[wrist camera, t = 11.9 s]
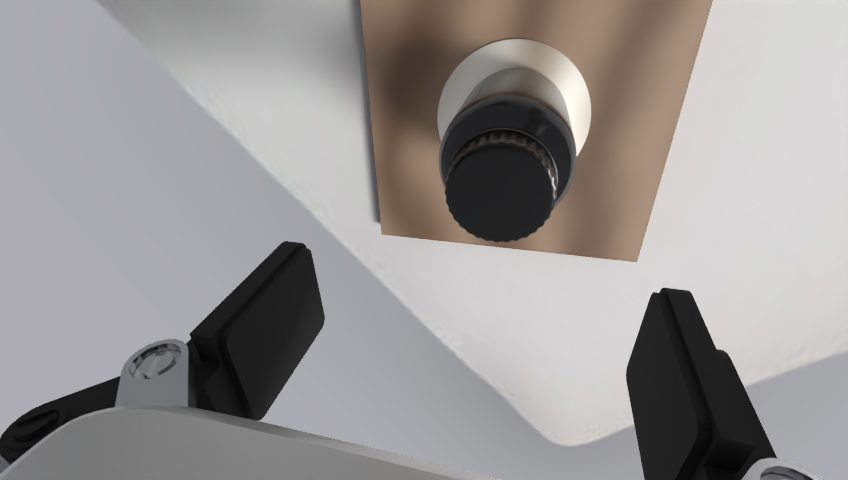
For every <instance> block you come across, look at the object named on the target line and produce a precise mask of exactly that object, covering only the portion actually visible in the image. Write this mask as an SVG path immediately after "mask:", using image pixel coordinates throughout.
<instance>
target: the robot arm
mask: <svg viewBox="0 0 848 480" xmlns="http://www.w3.org/2000/svg"><path fill="white" fill-rule="evenodd" d="M324 319H325V317H324V312H323V306H322V302H321V297H320V292H319V288H318V283H317V278H316V273H315V268H314V263H313V259H312V254H311V251H310V250H309V249H307V248H306V246H305V245H304V244H303V243H296V242H288V241H285V242H283V243H281V244H280V245H279V246H278V247H277V249H275V250H274V251H273V252H272V254H270V255H269V256H268V257H267V258H266V259H265V260H264V261H263V262H262V263H261V264H260V265H259V266H258V267H257V268H256V269H255V270H254V271H253V272H252V273H251V274H250V275H249V276H248V277H247V278H246V279H245V280H244V281H243V282H242V283H241V284H240V285H239V286H238V287H237V288H236V289H235V290H234V291H233V292H232V293H231V294H230V295H229V296H228V297H227V298H226V299H224V301H222V302H221V304H219V305H218V306H217V307H216V308H215V309H214V310H213V311H212V312H211V313H210V314H209V315H208V316H207V317H206V318H205V319H204V320H203V321H202V322H201V323H200V324H199V325H198V326H197V327H196V328H195V329H194V330H193V331H192V332H191V333H190V336H191V338H192V339H191V340H190V341H189V342H188V343H187V344H185V343H184V342H183V341H180V340H177V339H166V340H162V341H157V342H154V343H152V344H149V345H147V346H146V347H144V348H142V349H140V350H138V351H137V352H136V353H135V354H133V355H132V356H131V357H130V358H129V359H128V360H127V362H126V363H125V364H124V366H123V369H122V371H121V376H119V377H117V378H114V379H111V380H108V381H106V382H103V383H100V384H98V385H95V386H92V387H89V388H86V389H84V390H81V391H79V392H75V393H73V394H70V395H67V396H65V397H62V398H59V399H57V400H54V401H51V402H48V403H45V404H43V405H41V406H39V407H36V408H34V409H32V410H30V411H29V412H28V413H26V414H24V415H22V416H21V417H20V418H18V419H17V420H16V421H15V422H14V423H12V424H11V425H10V426H9V428H7V430H6V431H5V432H4V433H3V434H2V436H1V438H0V480H503V479H499V478H494V477H491V476H487V475H482V474H478V473H474V472H470V471H466V470H462V469H458V468H454V467H449V466H445V465H441V464H437V463H433V462H429V461H424V460H420V459H416V458H412V457H408V456H404V455H399V454H396V453H391V452H387V451H383V450H379V449H374V448H370V447H366V446H362V445H358V444H353V443H349V442H345V441H341V440H337V439H332V438H328V437H324V436H319V435H315V434H311V433H306V432H302V431H298V430H293V429H289V428H285V427H281V426H276V425H272V424H268V423H264V422H259V421H258V420H261V419H262V418H263V417H264V416H265V414H266V413H267V411H268V410H269V408H270V407H271V405H272V404H273V402H274V400H275V399H276V398H277V396H278V394H279V393H280V391H281V390H282V388H283V387H284V385H285V384H286V382H287V381H288V379H289V378H290V376H291V375H292V373H293V372H294V370H295V368H296V367H297V365H298V364H299V362H300V361H301V359H302V358H303V356H304V355H305V353H306V352H307V350H308V349H309V347H310V345H311V344H312V343H313V341H314V340H315V338H316V336H317V335H318V333H319V332H320V330H321V329H322V327H323V324H324ZM626 380H627V386H628V391H629V397H630V402H631V407H632V413H633V418H634V424H635V429H636V435H637V439H638V445H639V450H640V456H641V462H642V467H643V472H644V478H645V480H824V479H822V478H821V477H820V476H818V475H817V474H816V473H814V472H812V471H810V470H808V469H807V468H805V467H803V466H801V465H799V464H796V463H793V462H790V461H788V460H784V459H777V457H776V455H775V453H774V451H773V448H772V446H771V444H770V442H769V440H768V438H767V436H766V433H765V431H764V429H763V427H762V425H761V423H760V421H759V418H758V417H757V414H756V412H755V410H754V408H753V406H752V403H751V401H750V399H749V397H748V395H747V393H746V391H745V388H744V386H743V384H742V382H741V380H740V378H739V376H738V373H737V371H736V369H735V367H734V365H733V363H732V361H731V359H730V357H729V355H728V354H727V353H726V352H725V351H723V350H717V349H716V348H715V345H714V343H713V341H712V339H711V336H710V334H709V332H708V329H707V327H706V325H705V323H704V320H703V318H702V316H701V314H700V311H699V309H698V307H697V305H696V302H695V300H694V298H693V295H692V294H691V292H690V291H686V290H678V289H670V288H662V289H661V291H660V293H655V292H654V293H652V295H651V297H650V300H649V303H648V306H647V309H646V312H645V315H644V318H643V321H642V324H641V327H640V330H639V333H638V336H637V339H636V342H635V345H634V348H633V351H632V354H631V357H630V360H629V363H628V366H627V371H626Z"/></svg>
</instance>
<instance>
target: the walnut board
mask: <svg viewBox="0 0 848 480" xmlns="http://www.w3.org/2000/svg"><path fill="white" fill-rule="evenodd" d="M712 1H713V0H360V7H361V18H362V29H363V39H364V50H365V61H366V71H367V82H368V93H369V103H370V114H371V125H372V135H373V146H374V157H375V168H376V178H377V189H378V200H379V210H380V221H381V232H382V234H383V235H392V236H402V237H411V238H420V239H429V240H438V241H448V242H457V243H466V244H475V245H485V246H494V247H503V248H512V249H521V250H531V251H540V252H549V253H558V254H568V255H577V256H586V257H595V258H604V259H614V260H623V261H632V262H637V260H638V256H639V253H640V249H641V246H642V242H643V239H644V236H645V232H646V229H647V225H648V222H649V218H650V215H651V211H652V208H653V205H654V201H655V198H656V194H657V191H658V187H659V184H660V180H661V177H662V174H663V170H664V167H665V163H666V160H667V156H668V153H669V149H670V146H671V143H672V139H673V136H674V132H675V129H676V125H677V122H678V118H679V115H680V112H681V108H682V105H683V101H684V98H685V94H686V91H687V87H688V84H689V81H690V77H691V74H692V70H693V67H694V63H695V60H696V56H697V53H698V50H699V46H700V43H701V39H702V36H703V32H704V29H705V25H706V22H707V19H708V15H709V12H710V8H711V5H712ZM509 68H526V69H530V70H534V71H536V72H539V73H541V74H543V75H544V76H546V77H547V78H549V79H550V80H551V81H552V82H553V83H554V84H555V85H556V86H557V88H558V89H559V90H560V92H561V94H562V96H563V98H564V100H565V103H566V106H567V110H568V114H569V118H570V123H571V127H572V131H573V136H574V140H575V145H576V157H577V162H576V170H575V174H574V178H573V181H572V183H571V185H570V187H569V189H568V191H567V193H566V194H565V196H564V197H563V198H562V199H561V201H560V202H559V203H558V204H557V205H556V206H555V208H554V209H553V210H552V211H551V215H550V218H548V219H547V220H546V221H545V223H544V225H543V226H542V227H540V228H538V230H537V231H536V232H535V233H532V234H530V235H529V236H528V237H526V238H521V239H519V240H518V241H510V242H502V241H501V242H497V243H496V242H493V241H486V240H484V239H482V238H476V237H475V236H474V235H473V234H470V233H468V232H467V231H466V230H465V229H464V228H462V227H460V226H459V223H458V222H457V221H455V220H454V219H453V215H452V214H451V213H450V212H449V206H448V205H447V203H446V195H445V192H444V191H445V187H444V185H443V182H442V180H441V176H440V171H439V150H440V146H441V142H442V139H443V136H444V134H445V132H446V130H447V128H448V126H449V124H450V123H451V121H452V120H453V118H454V117H455V115H456V114H457V112H458V111H459V109H460V108H461V106H462V104H463V103H464V101H465V100H466V98H467V97H468V95H469V94H470V93H471V91H472V90H473V89H474V88H475V87H476V85H477V84H479V83H480V82H481V81H482V80H483V79H485V78H486V77H488V76H489V75H491V74H493V73H495V72H498V71H500V70H504V69H509Z"/></svg>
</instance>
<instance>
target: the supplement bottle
mask: <svg viewBox="0 0 848 480" xmlns="http://www.w3.org/2000/svg"><path fill="white" fill-rule="evenodd" d="M576 162H577V157H576V145H575V140H574V136H573V131H572V127H571V123H570V118H569V114H568V110H567V106H566V103H565V100H564V98H563V96H562V94H561V92H560V90H559V89H558V88H557V86H556V85H555V84H554V83H553V82H552V81H551V80H550V79H549V78H547V77H546V76H544V75H543V74H541V73H539V72H536V71H534V70H530V69H526V68H509V69H504V70H500V71H498V72H495V73H493V74H491V75H489V76H488V77H486V78H485V79H483V80H482V81H481V82H480V83H479V84H477V85H476V87H475V88H474V89H473V90H472V91H471V93H470V94H469V95H468V97H467V98H466V100H465V101H464V103H463V104H462V106H461V108H460V109H459V111H458V112H457V114H456V115H455V117H454V118H453V120H452V121H451V123H450V124H449V126H448V128H447V130H446V132H445V134H444V136H443V139H442V142H441V146H440V150H439V171H440V176H441V180H442V182H443V185H444V187H445V191H444V192H445V195H446V203H447V205H448V206H449V212H450V213H451V214H452V215H453V219H454V220H455V221H457V222H458V223H459V226H460V227H462V228H464V229H465V230H466V231H467V232H468V233H470V234H473V235H474V236H475V237H476V238H482V239H484V240H486V241H493V242H496V243H497V242H501V241H502V242H510V241H518V240H519V239H521V238H526V237H528V236H529V235H530V234H532V233H535V232H536V231H537V230H538V228H540V227H542V226H543V225H544V223H545V221H546V220H547V219H548V218H550V215H551V211H552V210H553V209H554V208H555V206H556V205H557V204H558V203H559V202H560V201H561V199H562V198H563V197H564V196H565V194H566V193H567V191H568V189H569V187H570V185H571V183H572V181H573V178H574V174H575V170H576Z"/></svg>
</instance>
